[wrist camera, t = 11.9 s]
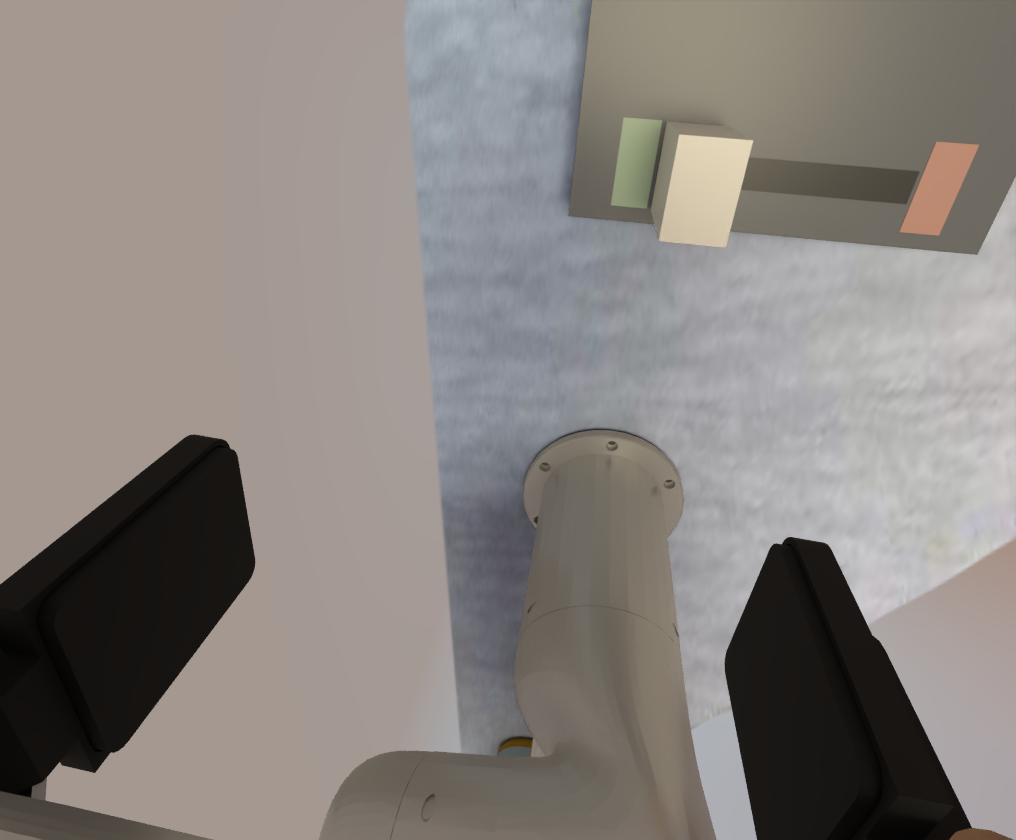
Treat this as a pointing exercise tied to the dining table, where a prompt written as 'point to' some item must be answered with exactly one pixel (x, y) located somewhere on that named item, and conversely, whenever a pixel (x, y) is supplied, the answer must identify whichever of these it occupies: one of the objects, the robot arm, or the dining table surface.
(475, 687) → the dining table surface
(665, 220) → the block
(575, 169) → the breaker panel
